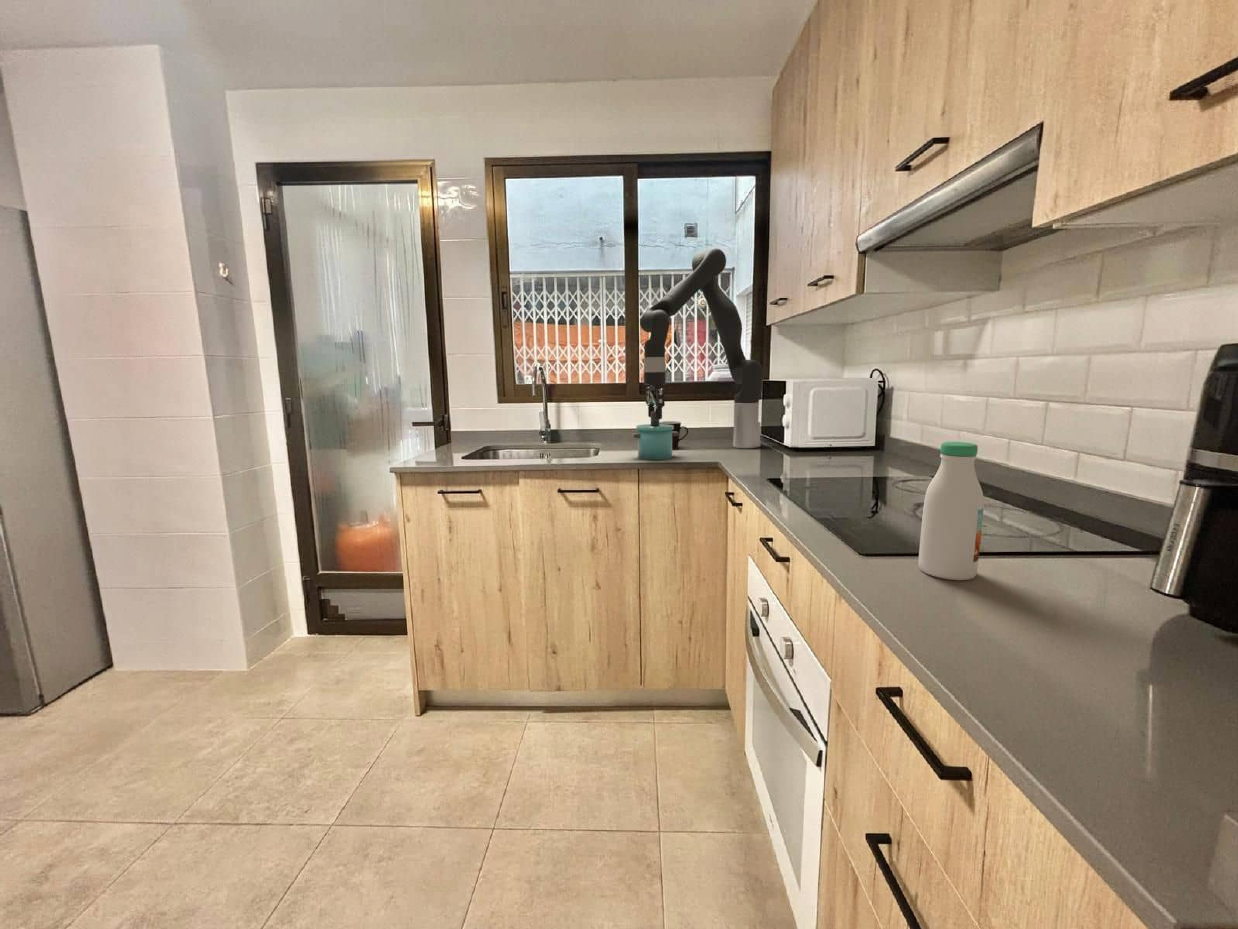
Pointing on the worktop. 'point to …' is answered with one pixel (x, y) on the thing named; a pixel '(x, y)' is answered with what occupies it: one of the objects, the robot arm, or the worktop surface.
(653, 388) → the robot arm
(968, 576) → the milk bottle
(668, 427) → the lid
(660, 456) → the pot
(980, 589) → the worktop surface
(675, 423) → the coffee mug
